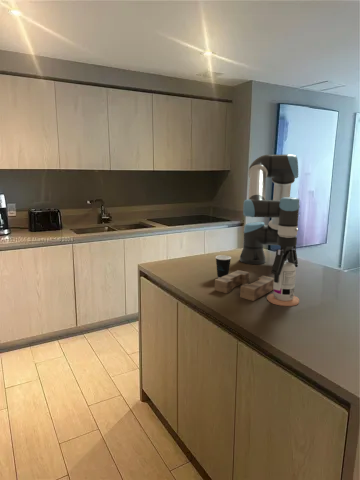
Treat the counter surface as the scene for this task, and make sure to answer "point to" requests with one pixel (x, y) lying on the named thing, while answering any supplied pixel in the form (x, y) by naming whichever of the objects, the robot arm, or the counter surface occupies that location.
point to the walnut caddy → (245, 284)
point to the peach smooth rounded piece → (283, 303)
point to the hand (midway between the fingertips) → (284, 285)
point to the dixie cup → (222, 265)
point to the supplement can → (286, 283)
